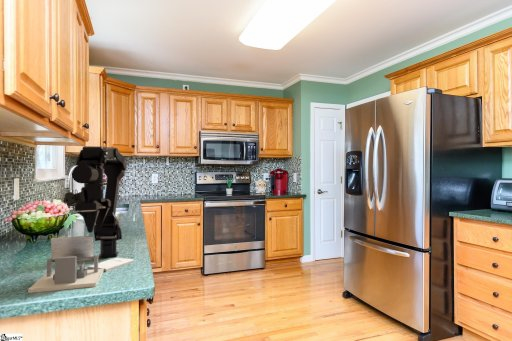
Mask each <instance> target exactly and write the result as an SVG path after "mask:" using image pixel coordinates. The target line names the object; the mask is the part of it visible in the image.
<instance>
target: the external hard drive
mask: <svg viewBox="0 0 512 341" xmlns="http://www.w3.org/2000/svg"><path fill="white" fill-rule="evenodd" d="M134 262H135V260H134V259H132V258H124V257H115V258H111V259H107V260H105V261H101V262H98V269H104V272H103V273H107V272H110V271H113V270H116V269H119V268H121V267H124V266H127V265H130V264H132V263H134ZM86 269H87V270H93V269H94V264H92V265H88V266H87V267H86Z"/></svg>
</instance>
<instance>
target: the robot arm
mask: <svg viewBox="0 0 512 341" xmlns="http://www.w3.org/2000/svg"><path fill="white" fill-rule="evenodd" d="M111 158H115V159H111ZM127 164H128V163H127V161H126V158H125V156H124V155H123V154H121V153H120V152H119V149H118V148H117V147H109V146H108V147H105V146H93V145H92V146H91V145H89V146H87V145H86V146H85V145H84V146H83V147H82V149H81V150H79V155H78V157H77V160H76V163H75V167H74V168H73V169H72V171H71V177H72V179H73V181H74V182H76V183H77V184H83V186H82V187H81V188H80V192H76V193H74V192H72V191H70V192H67V193H65V194H64V197H63V203H64V204H66V207H67V208H69V207H74V208H73V209H74V210H73V211H74V212H76V214H79V215H80V216H81V217H82V218H83V222H84V224H85V226H86V230H87V233H93V237H94V241H95V242H97V241H99V242H100V243H99V244H100V246H99V247H100V248H99V250H100V251H99V254H98V259H102V258H113V257H115V258H117V256H118V255H119V251H117V250H118V249H117V247H118V246H117V244H118V243H117V241H119V240H123V232H122V228H121V225H120V221H119V219H118V217H117V216H116V213H117V205H118V197H119V196H118V195H119V187H120V181H121V180H122V179H123V178H124V177H125V173H126V171H127V169H128V166H127ZM104 174H105V177H106V183H105V184H106V186H104ZM104 190H105V192H104Z"/></svg>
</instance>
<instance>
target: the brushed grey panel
mask: <svg viewBox="0 0 512 341" xmlns="http://www.w3.org/2000/svg"><path fill="white" fill-rule="evenodd" d="M93 239H94V235H82V236H61V237H60V236H59V237H51V238H50V245H51V246H50V248H51V258H52V264H53V263H55V258H56V257H69V256H77V262H78V261H89V260H90V261H94V255H95V254H94V240H93Z"/></svg>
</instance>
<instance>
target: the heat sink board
mask: <svg viewBox="0 0 512 341" xmlns="http://www.w3.org/2000/svg"><path fill="white" fill-rule="evenodd" d="M98 256H99V254H94V259H93V265H94V269H93V270H87V268H85V267H86V266H85V264H86V263H85V261H84V262H82V263H81V264H80V265H79V266H78V261H77V256H69V257H56V258H55V262H54V272H53V263H52V257H49V258H47V259H46V273H45V274H43V276H42V277H40V278H39V279H38V280H37V281H36V282H35V283H34V284H32V285H31V286H30V287H29V288H28V291H27V292H28V294H29V293H31V294H33V293H41V292H42V293H43V292H52V291H54V292H55V291H63V290H64V291H65V290H71V289H72V290H73V289H83V288H84V289H85V288H93V287H96V286H97V285H98V283H99V282H100V279H101V277H102V275H103V274H104V273H105V272H104V269H98V263H99V258H98Z"/></svg>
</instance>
